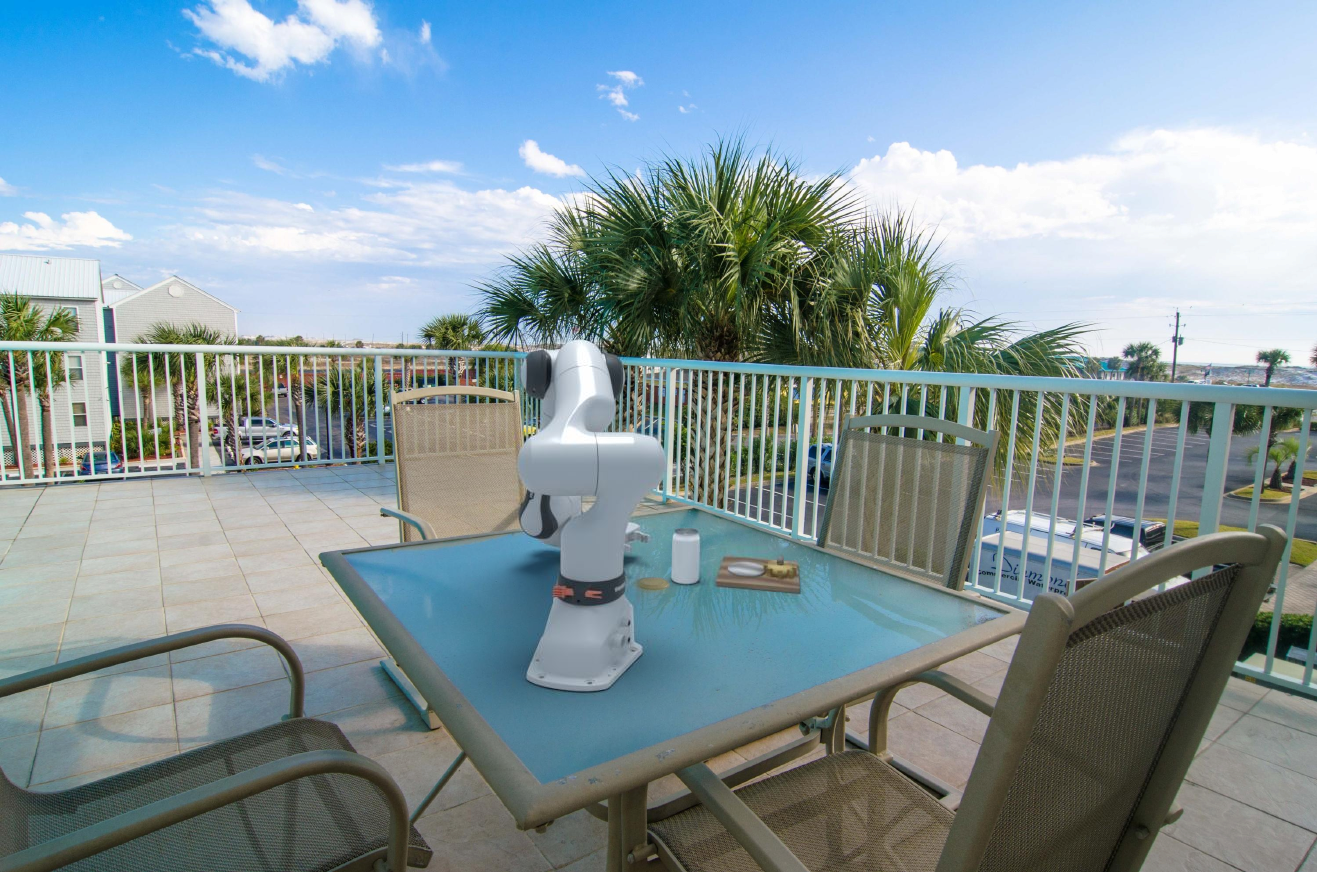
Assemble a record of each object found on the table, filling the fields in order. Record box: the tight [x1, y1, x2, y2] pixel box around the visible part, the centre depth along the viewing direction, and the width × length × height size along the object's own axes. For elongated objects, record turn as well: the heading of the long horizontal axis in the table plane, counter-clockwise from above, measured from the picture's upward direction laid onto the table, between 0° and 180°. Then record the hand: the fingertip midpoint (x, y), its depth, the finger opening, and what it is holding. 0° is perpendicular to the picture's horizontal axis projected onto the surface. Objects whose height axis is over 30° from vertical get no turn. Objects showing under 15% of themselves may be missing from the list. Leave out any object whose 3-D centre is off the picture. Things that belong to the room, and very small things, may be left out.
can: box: [671, 527, 701, 586], centre depth 152 cm, size 6×6×12 cm
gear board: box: [715, 554, 801, 594], centre depth 157 cm, size 20×19×6 cm
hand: (640, 543), depth 157 cm, fingers open, 8 cm apart
